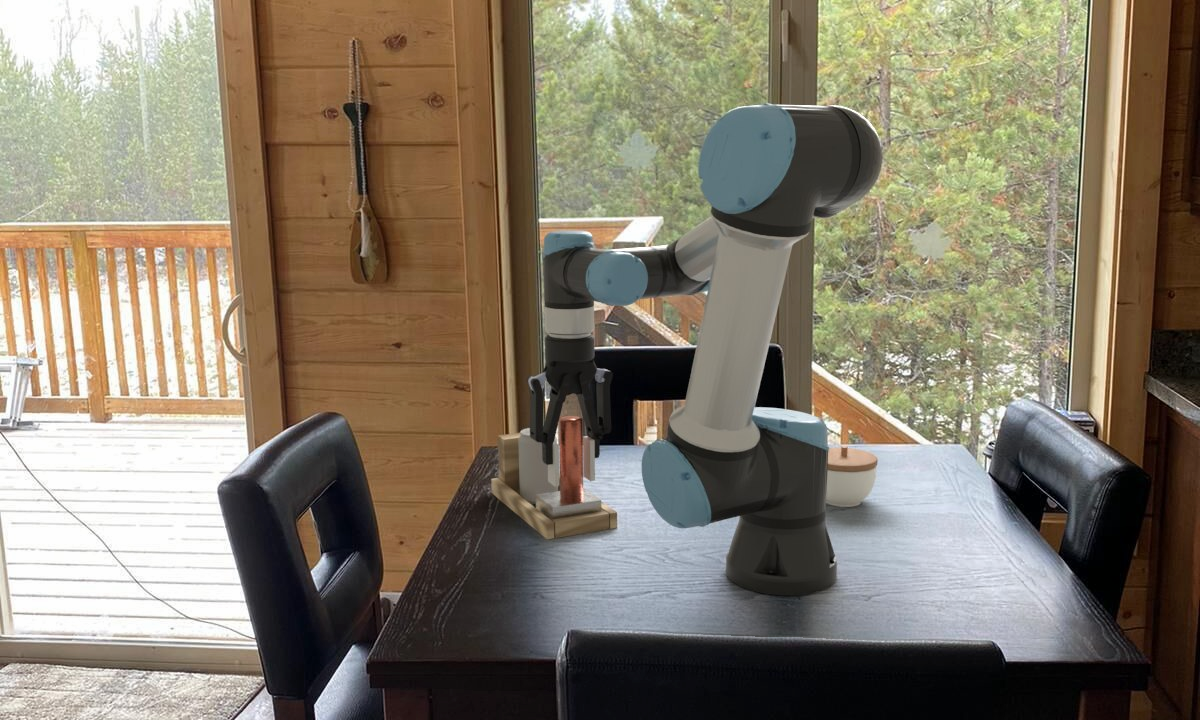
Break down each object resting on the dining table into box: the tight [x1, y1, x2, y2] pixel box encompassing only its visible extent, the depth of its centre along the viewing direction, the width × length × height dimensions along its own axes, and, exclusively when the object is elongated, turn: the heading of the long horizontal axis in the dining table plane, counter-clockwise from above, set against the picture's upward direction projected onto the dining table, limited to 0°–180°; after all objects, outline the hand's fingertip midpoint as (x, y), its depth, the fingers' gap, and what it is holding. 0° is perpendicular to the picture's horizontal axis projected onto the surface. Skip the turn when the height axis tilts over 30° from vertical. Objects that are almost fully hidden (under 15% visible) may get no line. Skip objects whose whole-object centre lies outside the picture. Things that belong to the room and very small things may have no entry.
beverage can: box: [518, 427, 558, 505], centre depth 186 cm, size 6×6×12 cm
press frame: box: [490, 432, 618, 540], centre depth 181 cm, size 25×12×10 cm, turn 25°
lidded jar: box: [826, 445, 879, 508], centre depth 184 cm, size 11×11×9 cm
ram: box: [535, 415, 602, 521], centre depth 174 cm, size 7×8×17 cm
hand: (571, 480), depth 173 cm, fingers open, 5 cm apart
